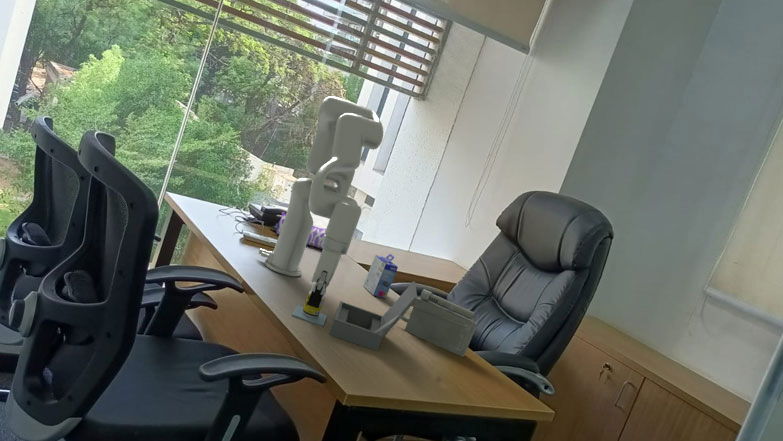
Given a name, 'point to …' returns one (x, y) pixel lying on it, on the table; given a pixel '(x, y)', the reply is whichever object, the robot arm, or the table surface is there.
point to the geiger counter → (441, 323)
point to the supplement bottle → (311, 310)
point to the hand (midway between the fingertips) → (314, 301)
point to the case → (370, 320)
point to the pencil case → (315, 234)
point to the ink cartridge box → (380, 276)
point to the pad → (299, 314)
